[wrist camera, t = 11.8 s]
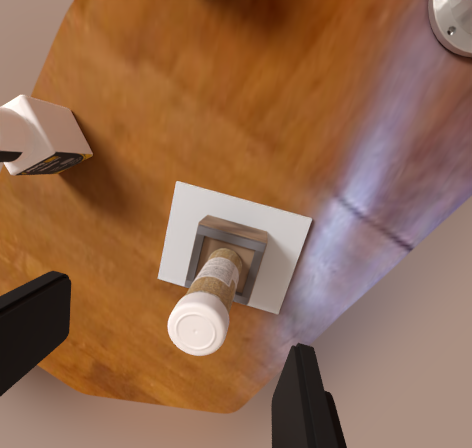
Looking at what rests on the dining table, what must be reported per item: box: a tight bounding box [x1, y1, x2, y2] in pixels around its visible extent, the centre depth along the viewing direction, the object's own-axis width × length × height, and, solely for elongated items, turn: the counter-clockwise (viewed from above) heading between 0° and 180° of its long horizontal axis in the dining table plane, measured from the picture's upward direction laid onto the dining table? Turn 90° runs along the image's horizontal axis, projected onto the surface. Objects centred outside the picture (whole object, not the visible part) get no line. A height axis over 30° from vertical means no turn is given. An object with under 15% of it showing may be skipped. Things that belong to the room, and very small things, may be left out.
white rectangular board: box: [158, 181, 312, 314], centre depth 36 cm, size 20×16×1 cm
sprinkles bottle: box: [168, 248, 242, 356], centre depth 24 cm, size 5×5×14 cm
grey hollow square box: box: [184, 215, 268, 305], centre depth 33 cm, size 9×9×6 cm
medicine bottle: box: [0, 95, 93, 175], centre depth 29 cm, size 7×7×12 cm
